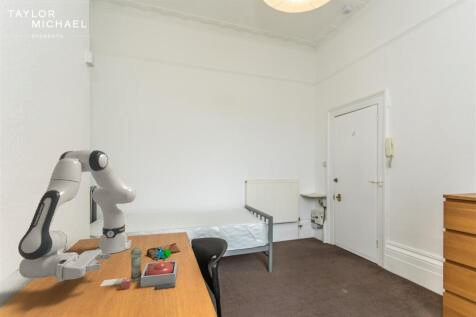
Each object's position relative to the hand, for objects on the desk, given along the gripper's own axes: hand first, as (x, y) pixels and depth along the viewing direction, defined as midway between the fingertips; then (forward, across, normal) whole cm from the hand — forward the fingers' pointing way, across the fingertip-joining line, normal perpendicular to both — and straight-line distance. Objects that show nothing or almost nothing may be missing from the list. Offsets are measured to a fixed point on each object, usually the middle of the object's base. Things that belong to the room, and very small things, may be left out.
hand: (105, 260), depth 95 cm
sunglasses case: (+21, -32, -11) cm, 40 cm away
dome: (+22, 0, -9) cm, 24 cm away
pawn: (+12, 0, -9) cm, 15 cm away
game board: (+14, 0, -10) cm, 17 cm away
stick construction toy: (+20, -24, -11) cm, 33 cm away
